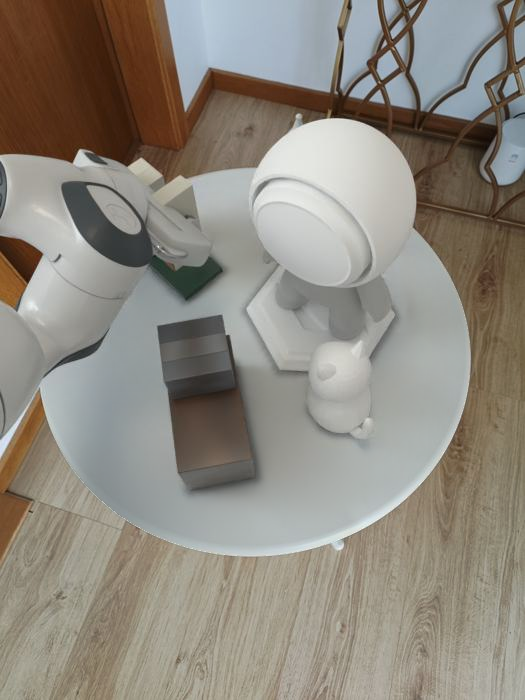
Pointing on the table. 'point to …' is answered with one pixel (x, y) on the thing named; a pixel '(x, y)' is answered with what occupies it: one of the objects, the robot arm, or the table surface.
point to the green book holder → (180, 280)
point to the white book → (178, 201)
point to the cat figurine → (341, 388)
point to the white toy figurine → (328, 237)
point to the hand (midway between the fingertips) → (185, 216)
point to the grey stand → (205, 403)
